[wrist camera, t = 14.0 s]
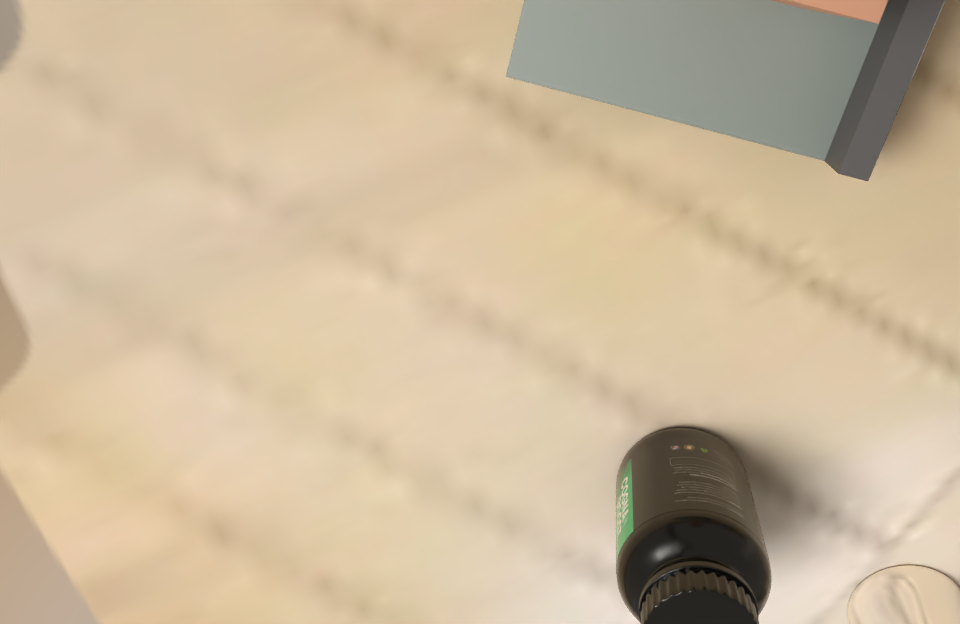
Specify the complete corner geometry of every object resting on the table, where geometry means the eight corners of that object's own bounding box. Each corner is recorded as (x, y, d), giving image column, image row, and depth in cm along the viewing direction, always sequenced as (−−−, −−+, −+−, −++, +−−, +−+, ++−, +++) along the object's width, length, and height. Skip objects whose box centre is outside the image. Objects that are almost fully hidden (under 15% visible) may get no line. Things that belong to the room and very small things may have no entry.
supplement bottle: (590, 466, 47) (583, 618, 36) (695, 400, 45) (721, 540, 34) (666, 553, 49) (681, 724, 37) (771, 492, 46) (821, 656, 35)
